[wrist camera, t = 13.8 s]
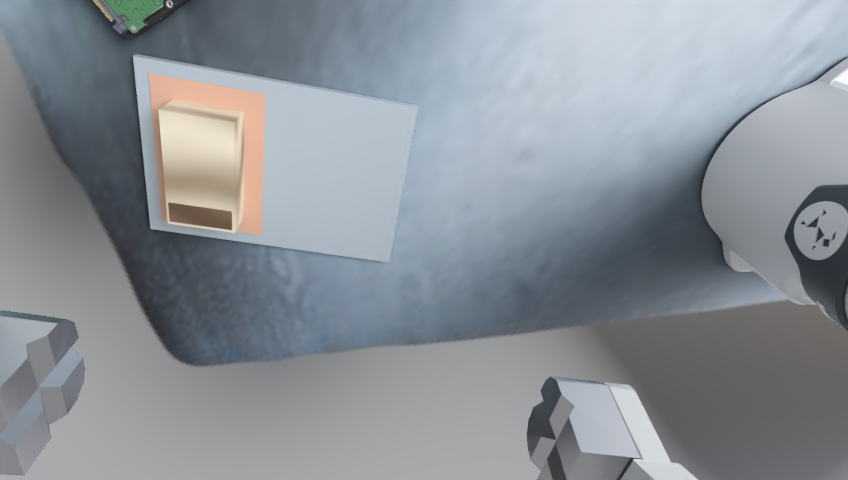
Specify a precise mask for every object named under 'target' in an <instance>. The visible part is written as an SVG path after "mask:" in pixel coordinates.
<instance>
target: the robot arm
mask: <svg viewBox="0 0 848 480" xmlns="http://www.w3.org/2000/svg"><path fill="white" fill-rule="evenodd" d="M702 207H703V212H704V215H705V218H706V220H707V222H708V224H709V225H710V227H711V228H712V229H713V230H714V232H715V233H716V234H717V235H718V236H719V238H720V239H721V241H722V243H723V253H724V258H725V261H726V263H727V264H728V265H729V266H730V267H731V268H733V269H734V270H735V271H738V272H756V273H757V274H758V275H760V276H761V277H762V278H763V279H765V280H766V281H767V282H768V283H769V284H771V285H772V286H773V287H774V288H776V289H777V290H778V291H779V292H781V293H782V294H783V295H784V296H786V297H787V298H788V299H789V300H791V301H792V302H794V303H797V304H799V305H803V304H811V305H818V306H819V307H820V310H822V311H823V313H824V314H825V315H826V316H827V317H829V318H830V319H831V320H832V321H833V322H834V323H837V324H838V325H839V326H842V327H843V328H844V329H845V330H847V331H848V58H847V59H845V60H843V61H842V62H840V63H839V64H837V65H836V66H835V67H833V68H832V69H831V70H829V71H828V72H827V73H825V74H824V75H823V76H822V77H820V78H819V79H818V80H816V81H814V82H812V83H810V84H808V85H806V86H803V87H801V88H798V89H795V90H793V91H790V92H788V93H785V94H783V95H781V96H779V97H777V98H775V99H773V100H771V101H769V102H767V103H766V104H764V105H762V106H761V107H759V108H758V109H756V110H755V111H754V112H752V113H751V114H750V115H748V116H747V117H746V118H745V119H744V120H743V121H741V122H740V123H739V124H738V125H737V126H736V127H735V128H734V129H733V130H732V131H731V132H730V134H729V135H728V136H727V137H726V138H725V140H724V141H723V142H722V144H721V145H720V146H719V148H718V149H717V151H716V152H715V154H714V156H713V158H712V160H711V162H710V164H709V166H708V169H707V171H706V174H705V177H704V181H703V186H702ZM77 339H78V334H77V330H76V326H75V323H74V322H72V321H69V320H67V319H60V318H53V317H46V316H39V315H31V314H25V313H17V312H10V311H4V310H2V311H0V474H7V475H25V474H26V472H27V471H28V469H29V468H30V467H31V465H32V464H33V462H34V461H35V460H36V458H37V457H38V455H39V454H40V453H41V451H42V450H43V448H44V447H45V445H46V444H47V443H48V441H49V440H50V438H51V435H50V429H49V424H51V423H53V422H55V421H57V420H58V419H60V418H62V417H63V416H65V415H67V414H68V413H69V411H70V410H71V408H72V407H73V405H74V404H75V402H76V400H77V399H78V396H79V393H80V391H81V388H82V385H83V382H84V372H85V367H84V361H83V357H81V356H80V355H79V354H78V353H77V352H76V351H75V350H74V349H73V348H72V345H73V344H74V343H75V342H76V340H77ZM541 393H542V396H543V400H544V401H543V402H541V403H540V404H538V405H537V406H535V407H533V410H532V413H531V415H530V418H529V422H528V429H527V443H528V450H529V455H530V459H531V460H532V462H533V463H534V464H535V465H536V466H537V467H538V468H539V469H540V470H541V473H540V475H539V477H538V479H537V480H698V479H696V478H695V477H694V476H693V475H692V474H691V473H689V472H688V471H687V470H686V469H685V468H684V467H683V466H681V465H680V464H677V463H671V461H670V459H669V457H668V455H667V453H666V451H665V449H664V448H663V445H662V443H661V441H660V439H659V437H658V435H657V433H656V432H655V429H654V428H653V425H652V423H651V422H650V419H649V417H648V415H647V413H646V412H645V409H644V408H643V405H642V404H641V402H640V400H639V398H638V396H637V394H636V392H635V390H634V389H633V388H632V387H631V386H630V385H625V384H616V383H607V382H602V383H600V382H596V381H587V380H578V379H569V378H559V377H549V378H548V379H547V380H546V381H545V383H544V385H543V387H542V389H541Z"/></svg>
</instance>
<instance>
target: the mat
mask: <svg viewBox="0 0 848 480" xmlns="http://www.w3.org/2000/svg"><path fill="white" fill-rule="evenodd" d="M133 62H134V71H135V81H136V91H137V101H138V111H139V120H140V130H141V140H142V150H143V160H144V169H145V179H146V189H147V199H148V209H149V218H150V228H151V229H155V230H162V231H169V232H176V233H183V234H190V235H197V236H204V237H211V238H218V239H225V240H232V241H240V242H247V243H254V244H261V245H268V246H275V247H282V248H289V249H296V250H303V251H310V252H317V253H324V254H331V255H338V256H346V257H353V258H360V259H367V260H374V261H381V262H388V263H389V261H390V256H391V251H392V245H393V240H394V234H395V229H396V224H397V218H398V213H399V208H400V202H401V197H402V192H403V186H404V181H405V175H406V170H407V165H408V159H409V154H410V149H411V143H412V138H413V133H414V127H415V122H416V116H417V111H418V105H415V104H410V103H404V102H399V101H393V100H388V99H382V98H377V97H371V96H366V95H360V94H354V93H349V92H343V91H338V90H332V89H327V88H321V87H316V86H310V85H305V84H299V83H294V82H288V81H283V80H277V79H271V78H266V77H260V76H255V75H249V74H244V73H238V72H233V71H227V70H222V69H216V68H211V67H205V66H200V65H194V64H188V63H183V62H177V61H172V60H166V59H161V58H155V57H150V56H144V55H139V54H136V55H134V56H133ZM173 99H174V100H180V101H186V102H192V103H198V104H204V105H210V106H215V107H221V108H227V109H233V110H239V111H244V218H243V220H242V221H241V223H240V225H239V227H238V228H237V230H236V232H235V233H230V232H223V231H216V230H209V229H202V228H195V227H188V226H181V225H174V224H168V219H167V207H166V195H165V183H164V171H163V159H162V147H161V135H160V123H159V112H158V110H159V109H160V108H162V107H163V106H164V105H166V104H167V103H168V102H170V101H171V100H173Z"/></svg>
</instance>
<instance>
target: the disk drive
mask: <svg viewBox="0 0 848 480" xmlns="http://www.w3.org/2000/svg"><path fill="white" fill-rule="evenodd" d="M93 1H94V3H95V4H96V5H97V6H98V7H99V8H100V10H101V11H102V12H103V13H104V15H105V16H106V17H107V18H108V19H109V21H111V22H112V21H113V22H114V23H115V25H114V26H113V28H114V29H115V30H117V31H118V32H119V33H120V34H124V35H125V36H126V37H127V38H129V39H132V38H134V37H136V36H138V35H140V34H142V33H144V32H145V31H146V30H148V29H149V28H151V27H152V26H154V25H155V24H156V23H158V22H160V21H162V20H164V19H165V18H167V17H168V16H170V15H171V14H172V13H174V11H175V10H177V9H178V8H180V7H181V6H182V5H184V4H185V3H187V2H188V1H190V0H93Z"/></svg>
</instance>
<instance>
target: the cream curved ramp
mask: <svg viewBox="0 0 848 480" xmlns="http://www.w3.org/2000/svg"><path fill="white" fill-rule="evenodd" d="M158 112H159V123H160V135H161V147H162V159H163V171H164V183H165V195H166V207H167V219H168V224H174V225H181V226H188V227H195V228H202V229H209V230H216V231H223V232H230V233H235V232H236V230H237V228H238V227H239V225H240V223H241V221H242V220H243V218H244V111H239V110H233V109H227V108H221V107H215V106H210V105H204V104H198V103H192V102H186V101H180V100H174V99H173V100H171V101H170V102H168V103H167V104H166V105H164V106H163V107H162V108H160V109H159V110H158Z"/></svg>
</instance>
